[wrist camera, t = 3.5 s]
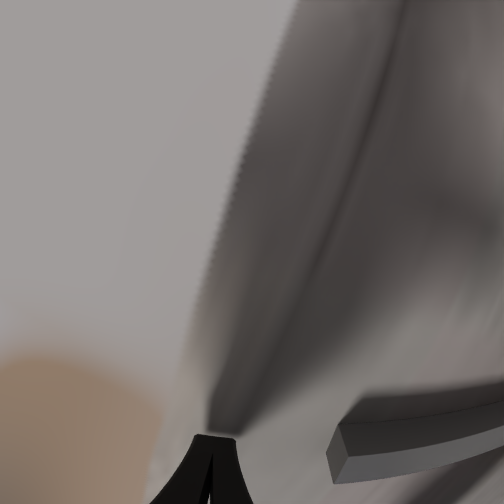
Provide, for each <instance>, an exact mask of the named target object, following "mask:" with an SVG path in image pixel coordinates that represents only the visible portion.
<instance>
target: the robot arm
mask: <svg viewBox="0 0 504 504" xmlns="http://www.w3.org/2000/svg"><path fill="white" fill-rule="evenodd" d="M209 494H210V504H253V502H252V499H251V497H250V495H249V492H248V490H247V487H246V484H245V481H244V478H243V475H242V472H241V469H240V465H239V461H238V456H237V450H236V441H235V440H234V439H233V438H225V437H216V436H208V435H201V434H197V435H195V436H194V438H193V441H192V443H191V445H190V448H189V450H188V451H187V453H186V455H185V457H184V459H183V460H182V462H181V464H180V465H179V467H178V468H177V470H176V471H175V473H174V474H173V476H172V477H171V478H170V480H169V481H168V482H167V484H166V485H165V486H164V487H163V489H162V490H161V491H160V493H159V494H158V495H157V496H156V497H155V498H154V499H153V501H152V502H151V503H150V504H207V503H208V499H209Z"/></svg>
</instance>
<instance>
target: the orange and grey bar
mask: <svg viewBox="0 0 504 504" xmlns="http://www.w3.org/2000/svg"><path fill="white" fill-rule="evenodd" d="M503 445H504V401H500V402H496V403H493V404H488V405H484V406H480V407H476V408H471V409H466V410H461V411H456V412H451V413H445V414H440V415H433V416H427V417H420V418H412V419H403V420H394V421H383V422H370V423H352V424H338V425H337V428H336V430H335V433H334V435H333V437H332V440H331V442H330V444H329V447H328V449H327V451H326V455H327V459H328V463H329V468H330V472H331V476H332V480H333V484H344V483H354V482H362V481H370V480H377V479H384V478H390V477H395V476H401V475H406V474H411V473H415V472H420V471H424V470H429V469H433V468H436V467H440V466H444V465H448V464H451V463H455V462H458V461H461V460H464V459H467V458H471V457H474V456H476V455H479V454H482V453H485V452H488V451H490V450H493V449H496V448H498V447H501V446H503Z"/></svg>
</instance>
